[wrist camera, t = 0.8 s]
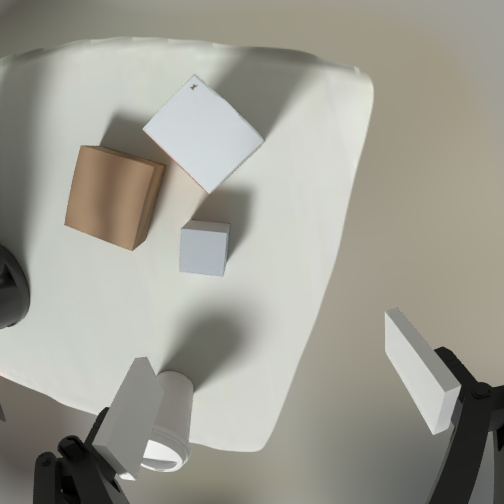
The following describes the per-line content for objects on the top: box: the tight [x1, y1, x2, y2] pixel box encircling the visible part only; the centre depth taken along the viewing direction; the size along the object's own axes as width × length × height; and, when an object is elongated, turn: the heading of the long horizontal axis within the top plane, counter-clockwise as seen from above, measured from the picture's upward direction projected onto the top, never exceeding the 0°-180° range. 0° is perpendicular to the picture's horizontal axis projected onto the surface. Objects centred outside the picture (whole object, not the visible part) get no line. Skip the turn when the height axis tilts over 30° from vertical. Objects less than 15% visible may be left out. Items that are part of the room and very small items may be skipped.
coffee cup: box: [141, 371, 194, 472], centre depth 38 cm, size 10×10×15 cm
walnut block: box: [64, 146, 166, 251], centre depth 34 cm, size 10×10×5 cm
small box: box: [142, 74, 265, 194], centre depth 28 cm, size 8×6×13 cm
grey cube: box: [179, 220, 230, 277], centre depth 36 cm, size 5×5×5 cm
